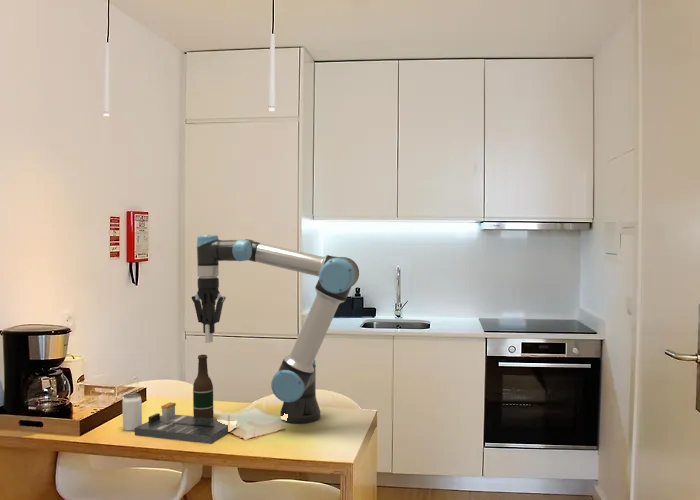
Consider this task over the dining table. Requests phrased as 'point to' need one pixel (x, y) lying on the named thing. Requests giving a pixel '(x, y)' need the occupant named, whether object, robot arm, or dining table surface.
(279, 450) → the dining table surface
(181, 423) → the board
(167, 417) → the fader knob
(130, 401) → the can
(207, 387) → the beer bottle
